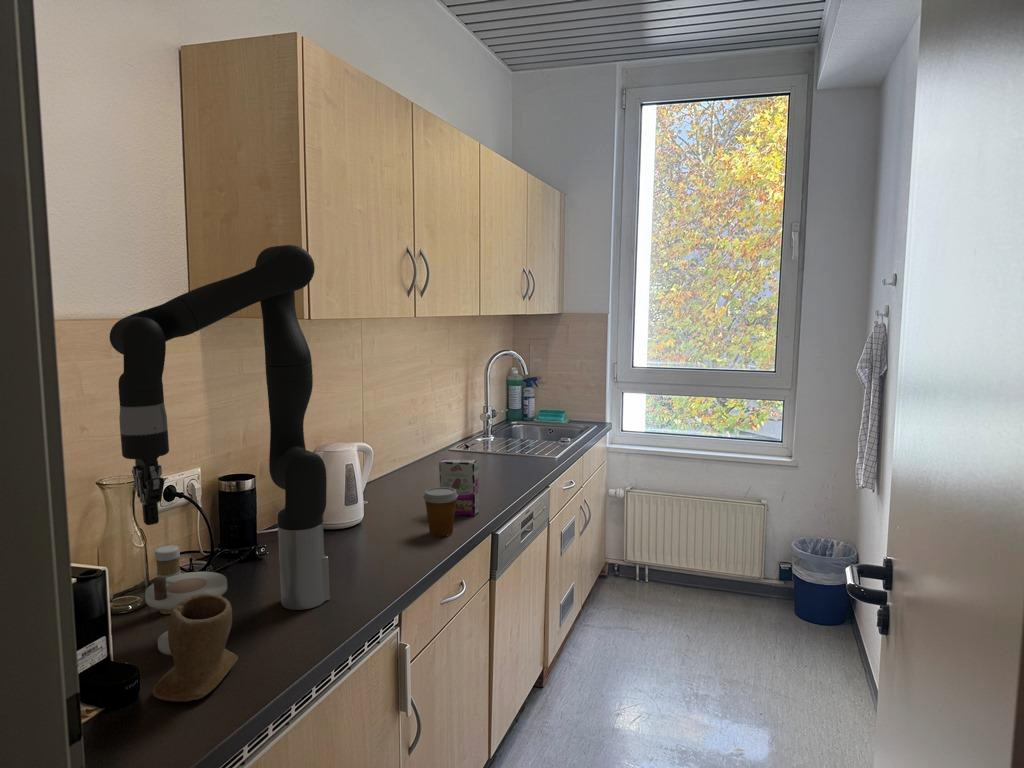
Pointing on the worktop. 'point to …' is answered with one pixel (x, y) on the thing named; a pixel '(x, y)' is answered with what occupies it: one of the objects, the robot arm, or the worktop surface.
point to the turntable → (183, 588)
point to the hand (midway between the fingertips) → (151, 523)
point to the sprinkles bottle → (167, 565)
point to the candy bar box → (462, 483)
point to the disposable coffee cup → (440, 510)
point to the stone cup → (197, 648)
